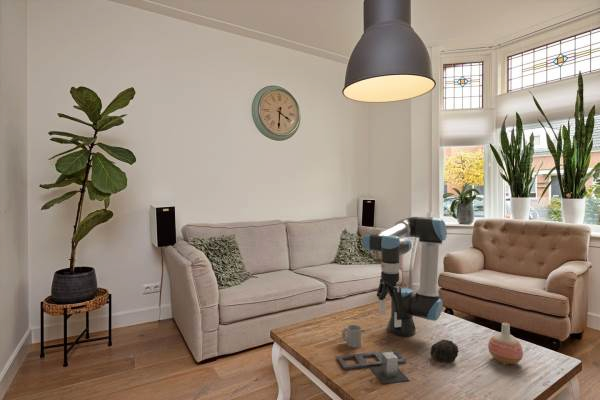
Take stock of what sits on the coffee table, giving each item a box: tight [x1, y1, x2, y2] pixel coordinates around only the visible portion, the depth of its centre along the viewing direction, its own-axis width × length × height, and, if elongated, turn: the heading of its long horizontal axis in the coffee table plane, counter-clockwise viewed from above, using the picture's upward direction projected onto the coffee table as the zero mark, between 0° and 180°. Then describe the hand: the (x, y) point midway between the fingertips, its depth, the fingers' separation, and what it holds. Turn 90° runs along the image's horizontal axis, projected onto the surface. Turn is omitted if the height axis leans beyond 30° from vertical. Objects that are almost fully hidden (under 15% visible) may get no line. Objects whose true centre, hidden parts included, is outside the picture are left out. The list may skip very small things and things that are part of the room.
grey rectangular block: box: [381, 352, 399, 377], centre depth 139 cm, size 5×5×8 cm
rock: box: [429, 339, 459, 363], centre depth 152 cm, size 10×11×10 cm
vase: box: [487, 322, 524, 365], centre depth 150 cm, size 14×14×18 cm
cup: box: [341, 324, 362, 349], centre depth 166 cm, size 7×10×9 cm
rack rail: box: [336, 349, 407, 371], centre depth 150 cm, size 30×10×1 cm, turn 102°
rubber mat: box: [369, 366, 410, 385], centre depth 139 cm, size 12×12×1 cm
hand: (389, 320), depth 141 cm, fingers open, 13 cm apart
